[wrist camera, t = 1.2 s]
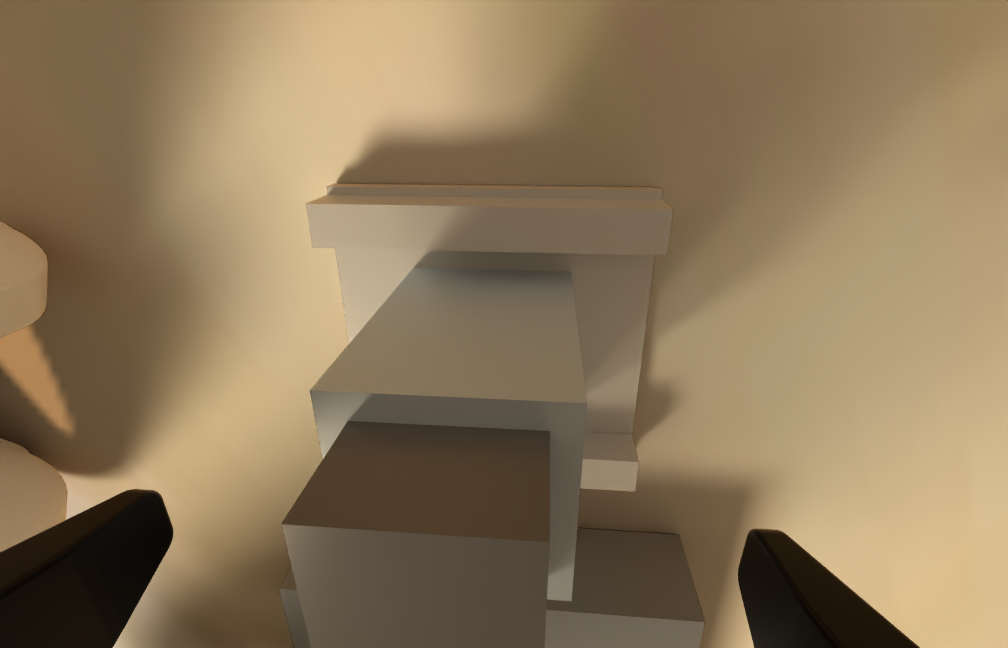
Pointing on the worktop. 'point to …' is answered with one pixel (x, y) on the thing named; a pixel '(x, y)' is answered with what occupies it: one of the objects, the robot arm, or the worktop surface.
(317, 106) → the worktop surface
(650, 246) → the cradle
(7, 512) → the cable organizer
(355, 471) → the plug
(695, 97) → the worktop surface
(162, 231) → the worktop surface
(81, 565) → the robot arm
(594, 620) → the socket plate
